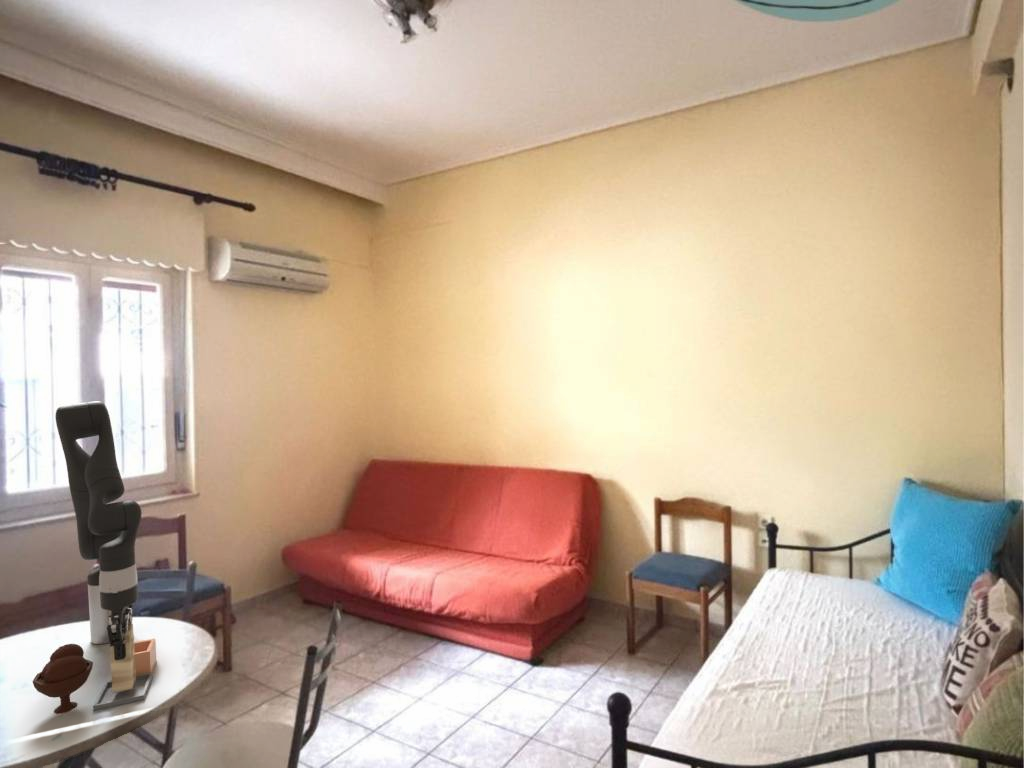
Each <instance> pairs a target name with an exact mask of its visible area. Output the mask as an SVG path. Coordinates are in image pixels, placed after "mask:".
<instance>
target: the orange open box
mask: <svg viewBox="0 0 1024 768" xmlns="http://www.w3.org/2000/svg"><path fill="white" fill-rule="evenodd" d="M134 652H135V671H136V675H141V674H146V673H151V672H154V668H155V667H156V664H157V661H158V660H157V645H156V638H151V639H150V638H148V639H144V640H140V641H134Z"/></svg>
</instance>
